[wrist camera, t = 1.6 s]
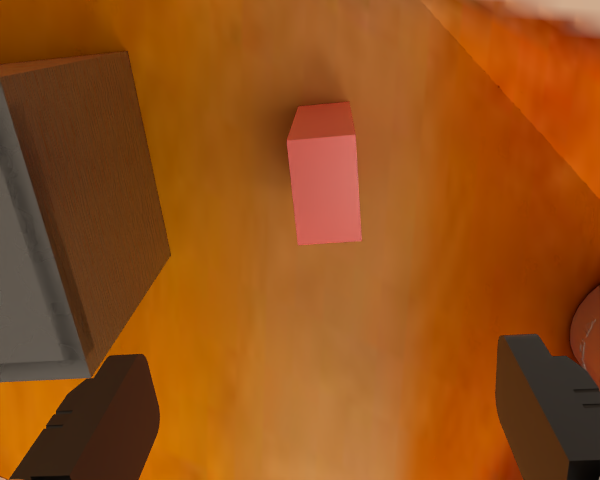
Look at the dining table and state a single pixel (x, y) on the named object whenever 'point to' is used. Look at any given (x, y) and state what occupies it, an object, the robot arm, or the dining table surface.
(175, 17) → the dining table surface
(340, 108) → the red rectangular block
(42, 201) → the grey slotted box
